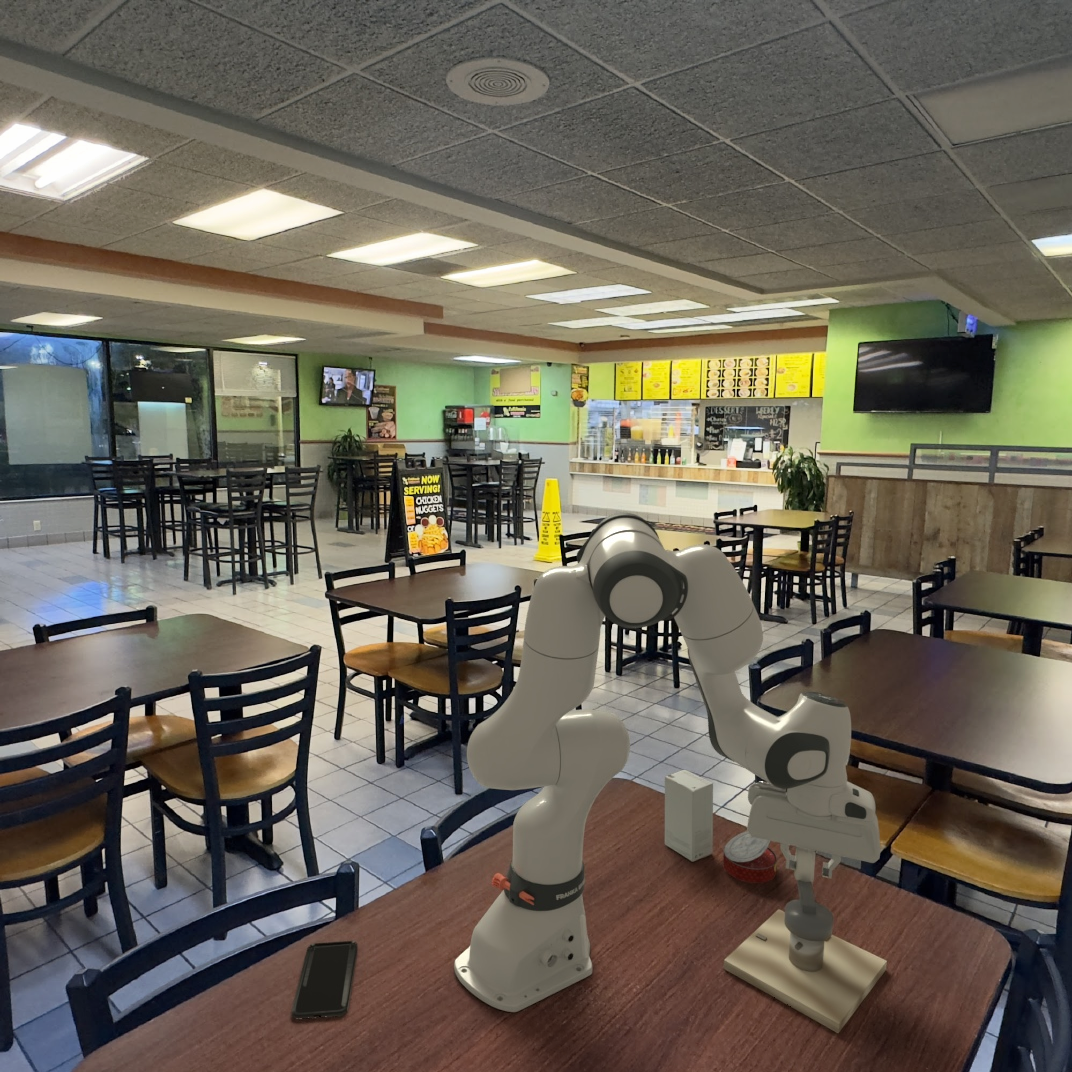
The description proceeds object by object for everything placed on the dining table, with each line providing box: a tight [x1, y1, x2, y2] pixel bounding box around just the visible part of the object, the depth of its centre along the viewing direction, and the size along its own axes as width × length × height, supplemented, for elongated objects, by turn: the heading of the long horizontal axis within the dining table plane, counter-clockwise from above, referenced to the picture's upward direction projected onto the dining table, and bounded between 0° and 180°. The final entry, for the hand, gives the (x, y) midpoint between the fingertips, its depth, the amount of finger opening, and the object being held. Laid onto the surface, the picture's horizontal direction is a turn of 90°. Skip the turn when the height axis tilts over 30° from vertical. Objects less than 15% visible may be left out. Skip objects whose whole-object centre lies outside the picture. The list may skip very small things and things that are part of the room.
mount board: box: [723, 909, 888, 1034], centre depth 118 cm, size 18×18×7 cm
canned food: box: [722, 830, 778, 884], centre depth 145 cm, size 11×10×10 cm
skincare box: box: [664, 769, 714, 862], centre depth 151 cm, size 8×6×15 cm
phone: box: [291, 940, 359, 1019], centre depth 115 cm, size 8×1×15 cm
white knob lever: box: [784, 846, 834, 941], centre depth 120 cm, size 7×13×8 cm, turn 167°
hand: (808, 871), depth 124 cm, fingers open, 4 cm apart
